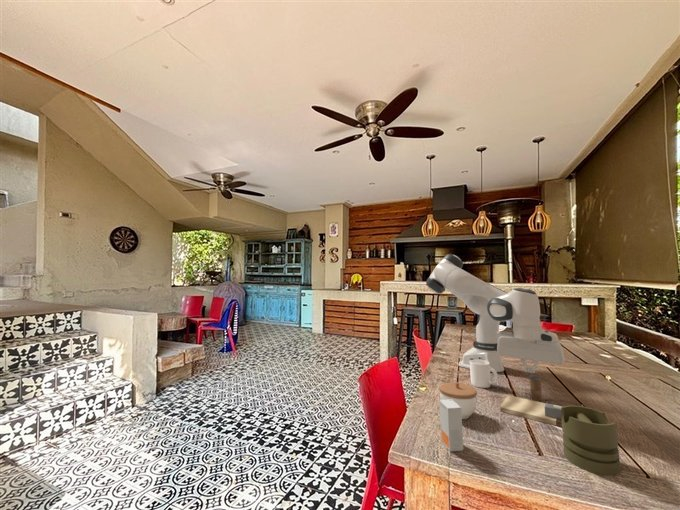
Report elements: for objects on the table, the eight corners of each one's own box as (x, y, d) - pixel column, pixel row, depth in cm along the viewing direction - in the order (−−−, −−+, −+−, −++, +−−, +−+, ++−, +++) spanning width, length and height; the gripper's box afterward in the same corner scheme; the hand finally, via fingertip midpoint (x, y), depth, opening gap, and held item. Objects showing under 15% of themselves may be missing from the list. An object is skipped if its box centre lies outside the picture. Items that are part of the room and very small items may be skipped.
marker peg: (530, 401, 114) (528, 376, 114) (531, 398, 116) (530, 373, 117) (541, 403, 111) (540, 378, 112) (542, 400, 114) (541, 375, 115)
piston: (602, 408, 81) (625, 428, 70) (606, 453, 80) (630, 480, 69) (554, 403, 85) (569, 421, 74) (557, 445, 84) (573, 470, 73)
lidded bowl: (461, 426, 95) (459, 392, 96) (432, 411, 106) (431, 380, 107) (485, 417, 101) (484, 385, 102) (456, 404, 112) (455, 374, 113)
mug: (502, 387, 128) (501, 364, 128) (494, 392, 123) (492, 367, 123) (476, 380, 137) (475, 358, 138) (467, 384, 132) (466, 361, 133)
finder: (545, 415, 98) (544, 405, 99) (546, 411, 101) (546, 402, 102) (567, 421, 94) (566, 411, 95) (568, 417, 97) (567, 406, 98)
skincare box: (440, 440, 87) (438, 399, 88) (453, 439, 88) (452, 398, 89) (449, 452, 81) (447, 408, 82) (464, 451, 82) (462, 407, 82)
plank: (500, 411, 105) (500, 406, 105) (508, 398, 116) (508, 395, 116) (586, 433, 90) (585, 428, 90) (586, 416, 100) (585, 412, 100)
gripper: (493, 331, 109) (496, 368, 108) (561, 337, 96) (564, 380, 95) (497, 329, 114) (499, 364, 113) (562, 334, 101) (565, 375, 100)
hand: (530, 372), depth 104 cm, fingers closed
